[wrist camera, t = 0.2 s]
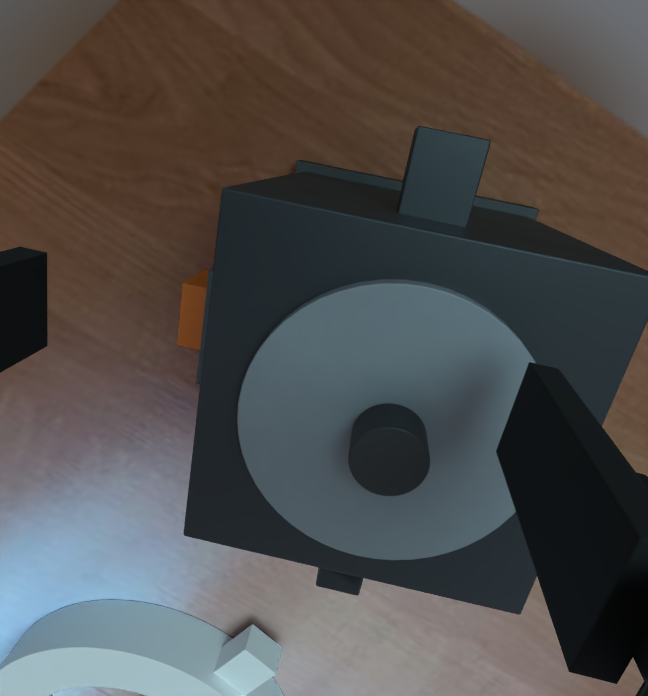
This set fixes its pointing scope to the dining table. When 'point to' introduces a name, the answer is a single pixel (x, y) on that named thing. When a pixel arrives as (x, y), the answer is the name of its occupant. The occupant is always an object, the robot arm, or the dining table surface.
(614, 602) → the robot arm
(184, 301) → the kettle switch
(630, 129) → the dining table surface
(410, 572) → the kettle
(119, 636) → the white circle with bar
